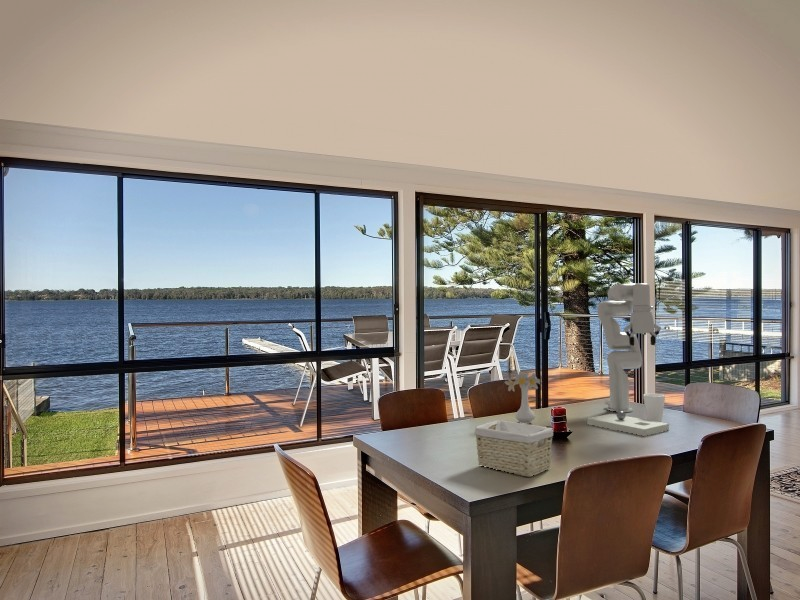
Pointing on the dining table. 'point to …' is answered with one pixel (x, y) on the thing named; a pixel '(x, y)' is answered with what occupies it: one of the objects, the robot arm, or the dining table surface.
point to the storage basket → (514, 447)
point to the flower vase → (524, 395)
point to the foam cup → (654, 406)
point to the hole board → (628, 424)
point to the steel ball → (621, 415)
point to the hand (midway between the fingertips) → (642, 345)
